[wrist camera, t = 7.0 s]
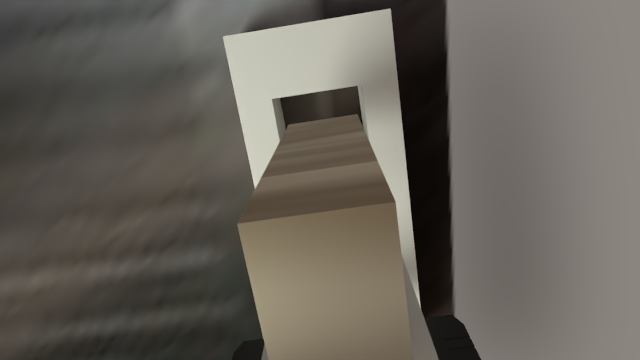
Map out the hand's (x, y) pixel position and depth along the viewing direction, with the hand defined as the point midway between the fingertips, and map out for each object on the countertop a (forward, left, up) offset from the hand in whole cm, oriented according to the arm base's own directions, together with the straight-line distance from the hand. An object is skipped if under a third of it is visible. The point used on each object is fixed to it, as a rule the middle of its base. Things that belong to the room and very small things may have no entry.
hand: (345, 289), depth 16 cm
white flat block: (0, 0, -11) cm, 11 cm away
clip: (0, 0, -4) cm, 4 cm away
